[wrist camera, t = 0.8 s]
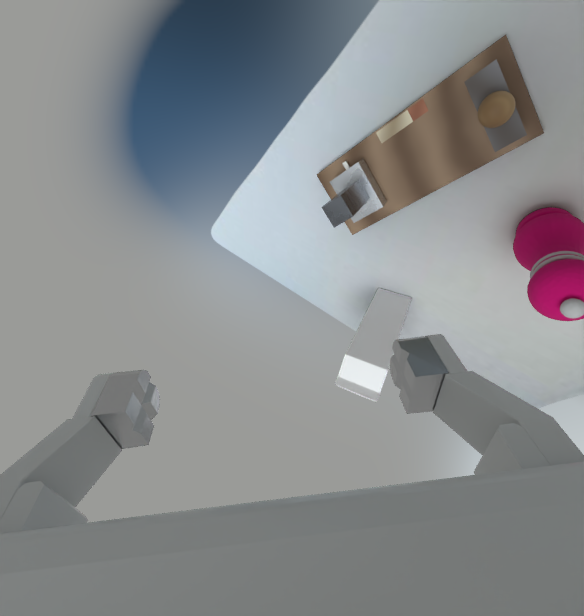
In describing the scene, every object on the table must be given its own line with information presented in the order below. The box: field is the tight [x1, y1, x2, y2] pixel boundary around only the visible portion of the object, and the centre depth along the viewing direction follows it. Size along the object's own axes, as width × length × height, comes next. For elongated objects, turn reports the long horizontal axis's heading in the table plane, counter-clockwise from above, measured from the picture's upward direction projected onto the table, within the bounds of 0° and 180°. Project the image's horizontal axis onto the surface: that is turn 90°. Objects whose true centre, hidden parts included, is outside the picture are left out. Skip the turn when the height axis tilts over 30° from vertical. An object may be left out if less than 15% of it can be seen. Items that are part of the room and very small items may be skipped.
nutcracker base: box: [317, 35, 544, 235], centre depth 41 cm, size 26×11×9 cm, turn 128°
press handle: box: [322, 159, 387, 227], centre depth 44 cm, size 5×8×10 cm, turn 38°
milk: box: [335, 288, 412, 401], centre depth 51 cm, size 6×6×22 cm
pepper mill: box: [513, 207, 584, 321], centre depth 35 cm, size 7×7×20 cm
